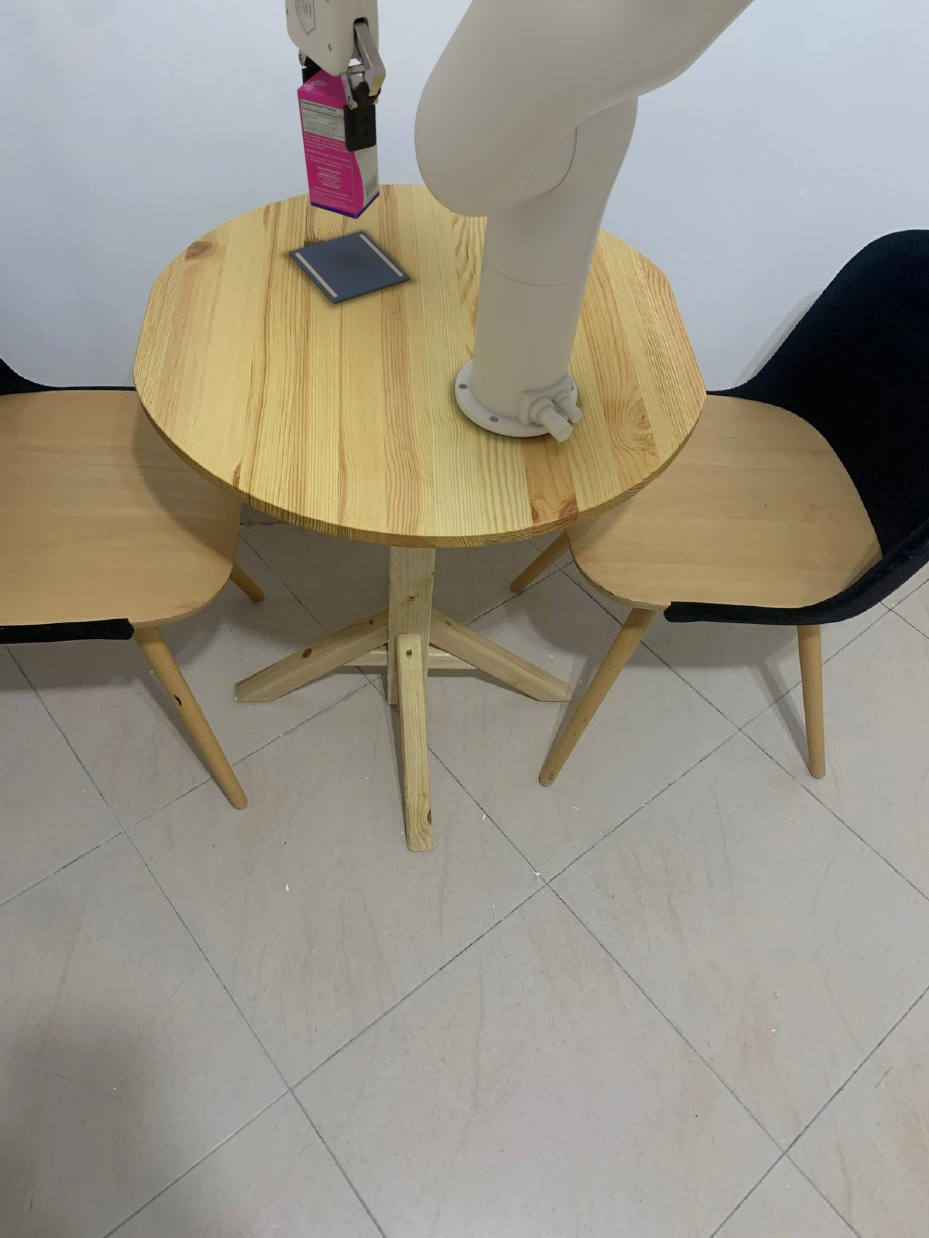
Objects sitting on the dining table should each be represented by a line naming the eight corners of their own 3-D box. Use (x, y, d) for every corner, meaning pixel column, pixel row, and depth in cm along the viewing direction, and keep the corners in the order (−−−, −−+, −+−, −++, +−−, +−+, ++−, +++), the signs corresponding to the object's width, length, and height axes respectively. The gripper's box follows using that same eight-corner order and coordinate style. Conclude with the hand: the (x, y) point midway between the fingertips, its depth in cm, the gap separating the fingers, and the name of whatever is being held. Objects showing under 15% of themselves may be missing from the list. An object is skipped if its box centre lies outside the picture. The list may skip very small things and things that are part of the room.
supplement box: (332, 181, 86) (324, 63, 76) (380, 195, 85) (378, 78, 76) (307, 206, 83) (295, 86, 73) (356, 221, 82) (351, 102, 72)
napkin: (409, 279, 90) (409, 277, 90) (333, 304, 86) (333, 301, 86) (363, 232, 95) (362, 230, 94) (288, 254, 91) (288, 251, 91)
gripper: (238, -130, 66) (268, 99, 80) (337, -61, 58) (349, 178, 73) (317, -137, 68) (332, 86, 83) (421, -72, 61) (417, 161, 76)
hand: (340, 128), depth 78 cm, fingers closed on supplement box, 7 cm apart
